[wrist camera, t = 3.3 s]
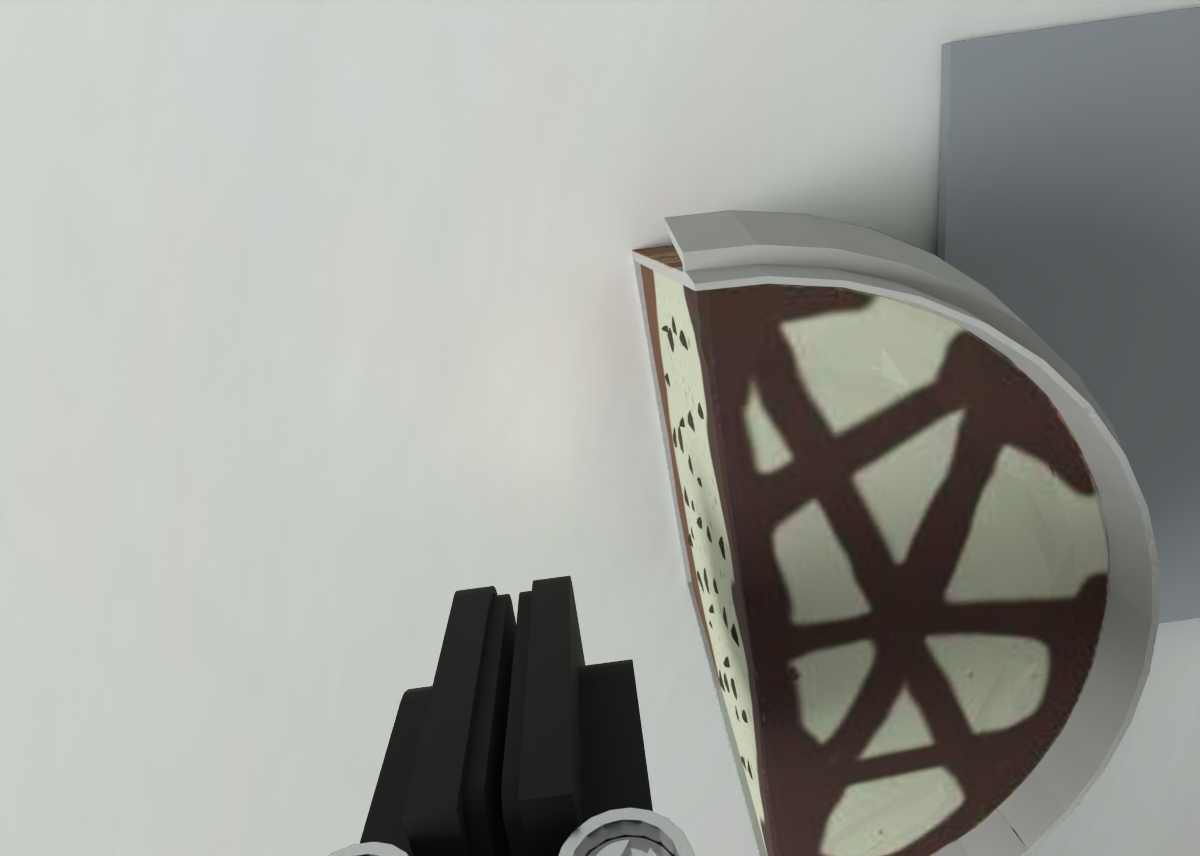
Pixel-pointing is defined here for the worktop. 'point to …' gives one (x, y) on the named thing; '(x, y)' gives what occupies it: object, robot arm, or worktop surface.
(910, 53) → the worktop surface
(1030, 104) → the mat
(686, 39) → the worktop surface
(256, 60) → the worktop surface
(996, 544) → the food container
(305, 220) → the worktop surface
